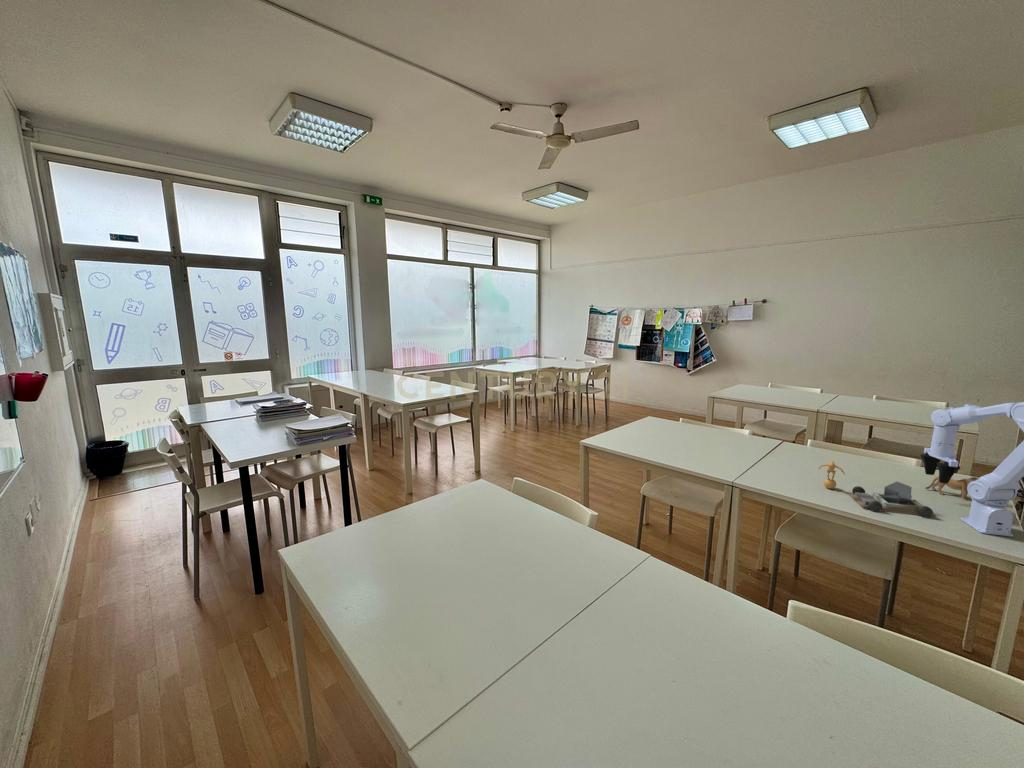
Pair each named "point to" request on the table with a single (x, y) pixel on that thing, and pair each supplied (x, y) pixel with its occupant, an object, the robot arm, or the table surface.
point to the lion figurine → (954, 485)
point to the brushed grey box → (897, 493)
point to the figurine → (830, 482)
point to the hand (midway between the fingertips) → (936, 478)
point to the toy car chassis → (888, 504)
